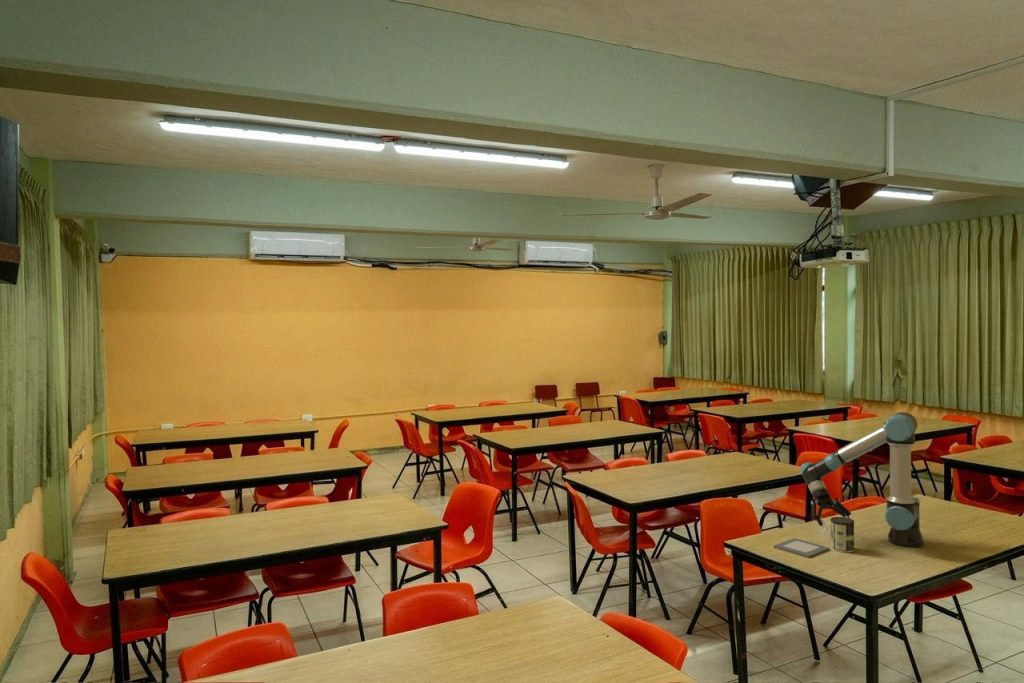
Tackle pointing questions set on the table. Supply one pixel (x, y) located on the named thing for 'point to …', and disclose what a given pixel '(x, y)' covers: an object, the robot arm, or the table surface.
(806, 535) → the table surface
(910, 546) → the robot arm
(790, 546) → the mat
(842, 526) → the coffee can
